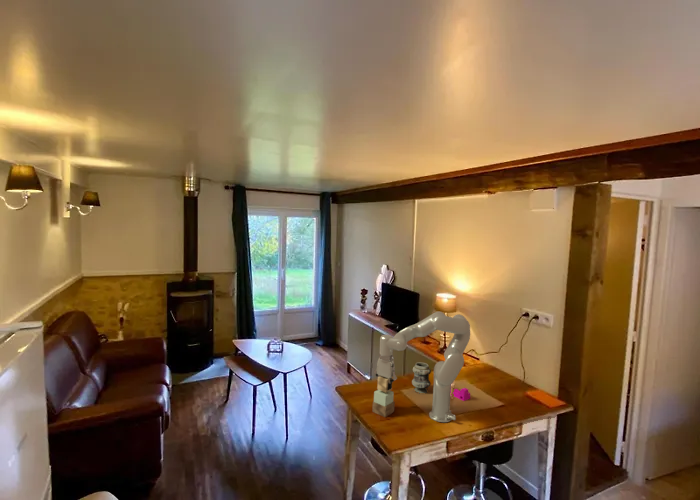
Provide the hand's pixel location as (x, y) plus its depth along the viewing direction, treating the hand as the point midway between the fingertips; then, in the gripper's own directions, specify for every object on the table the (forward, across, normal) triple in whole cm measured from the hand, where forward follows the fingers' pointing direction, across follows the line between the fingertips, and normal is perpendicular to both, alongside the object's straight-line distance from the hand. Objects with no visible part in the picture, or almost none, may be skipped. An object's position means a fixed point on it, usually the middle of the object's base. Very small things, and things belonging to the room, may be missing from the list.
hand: (384, 387), depth 214 cm
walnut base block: (+15, 0, 0) cm, 15 cm away
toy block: (+15, -23, -50) cm, 57 cm away
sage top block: (+9, 0, 0) cm, 9 cm away
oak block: (+1, 0, 0) cm, 1 cm away
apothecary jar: (+15, -2, -40) cm, 42 cm away
